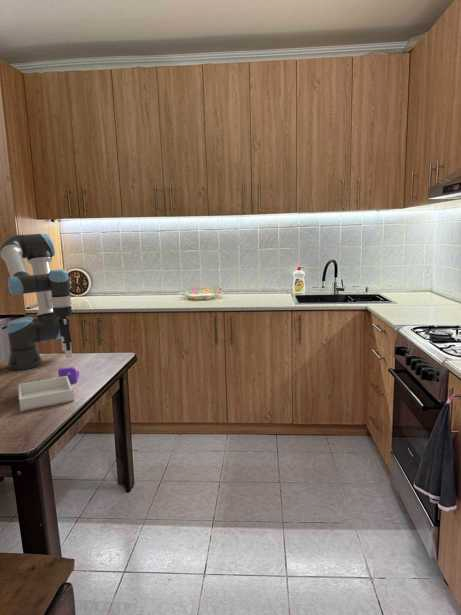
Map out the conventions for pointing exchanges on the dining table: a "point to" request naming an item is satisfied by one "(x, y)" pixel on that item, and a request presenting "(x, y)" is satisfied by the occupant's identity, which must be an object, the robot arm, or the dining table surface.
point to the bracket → (69, 374)
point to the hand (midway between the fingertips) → (67, 354)
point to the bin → (45, 393)
